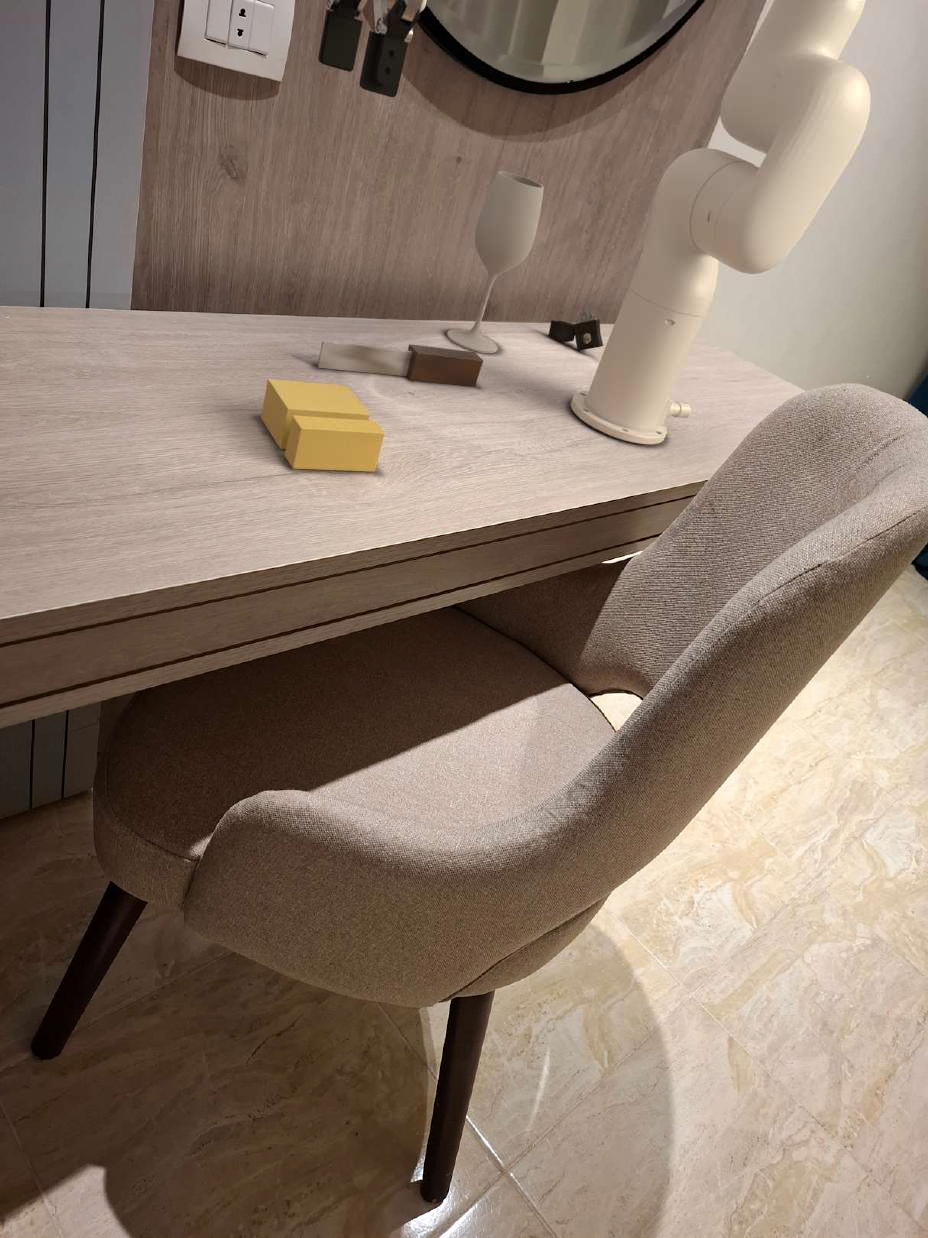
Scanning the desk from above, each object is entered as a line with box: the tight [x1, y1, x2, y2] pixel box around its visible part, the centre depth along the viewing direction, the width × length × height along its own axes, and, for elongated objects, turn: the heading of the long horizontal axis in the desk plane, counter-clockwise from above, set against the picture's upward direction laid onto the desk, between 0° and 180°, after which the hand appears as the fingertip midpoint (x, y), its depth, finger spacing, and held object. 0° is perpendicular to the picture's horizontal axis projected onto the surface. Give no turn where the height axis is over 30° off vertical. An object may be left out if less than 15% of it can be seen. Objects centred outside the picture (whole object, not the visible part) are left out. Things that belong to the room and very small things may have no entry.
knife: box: [316, 340, 484, 387], centre depth 104 cm, size 20×2×3 cm, turn 117°
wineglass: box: [446, 170, 545, 354], centre depth 118 cm, size 8×8×21 cm
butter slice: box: [284, 415, 386, 473], centre depth 81 cm, size 8×2×4 cm, turn 117°
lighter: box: [548, 311, 604, 352], centre depth 134 cm, size 8×2×5 cm
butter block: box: [260, 378, 371, 450], centre depth 84 cm, size 8×6×4 cm
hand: (355, 79), depth 77 cm, fingers open, 9 cm apart
